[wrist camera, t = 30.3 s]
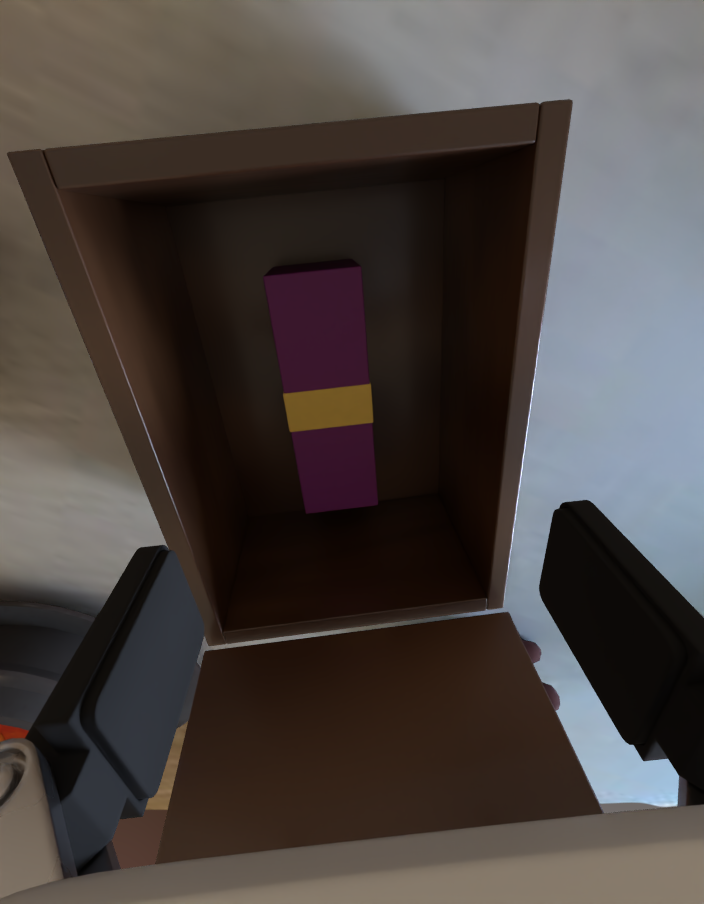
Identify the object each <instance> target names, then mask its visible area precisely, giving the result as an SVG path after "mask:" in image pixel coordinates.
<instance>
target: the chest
mask: <svg viewBox="0 0 704 904" xmlns="http://www.w3.org/2000/svg"><path fill="white" fill-rule="evenodd" d="M572 104H573V102H572V100H570V99H568V100H557V101H547V102H542V103H540V104H539V103H525V104H515V105H504V106H494V107H483V108H472V109H462V110H451V111H440V112H430V113H419V114H409V115H398V116H387V117H377V118H366V119H356V120H345V121H334V122H324V123H313V124H303V125H292V126H281V127H271V128H260V129H249V130H239V131H228V132H218V133H207V134H196V135H186V136H175V137H165V138H154V139H143V140H133V141H122V142H111V143H101V144H90V145H80V146H69V147H58V148H48V149H45V150H41V149H34V150H24V151H13V152H8V153H7V155H8V158H9V160H10V163H11V165H12V167H13V170H14V172H15V175H16V177H17V180H18V182H19V184H20V187H21V189H22V192H23V194H24V197H25V199H26V202H27V204H28V206H29V209H30V211H31V214H32V216H33V219H34V221H35V223H36V226H37V228H38V231H39V233H40V236H41V238H42V241H43V243H44V245H45V248H46V250H47V253H48V255H49V258H50V260H51V262H52V265H53V267H54V270H55V272H56V275H57V277H58V280H59V282H60V284H61V287H62V289H63V292H64V294H65V297H66V299H67V302H68V304H69V306H70V309H71V311H72V314H73V316H74V319H75V321H76V323H77V326H78V328H79V331H80V333H81V336H82V338H83V341H84V343H85V345H86V348H87V350H88V353H89V355H90V358H91V360H92V362H93V365H94V367H95V370H96V372H97V375H98V377H99V380H100V382H101V384H102V387H103V389H104V392H105V394H106V397H107V399H108V401H109V404H110V406H111V409H112V411H113V414H114V416H115V419H116V421H117V423H118V426H119V428H120V431H121V433H122V436H123V438H124V441H125V443H126V445H127V448H128V450H129V453H130V455H131V458H132V460H133V462H134V465H135V467H136V470H137V472H138V475H139V477H140V480H141V482H142V484H143V487H144V489H145V492H146V494H147V497H148V499H149V501H150V504H151V506H152V509H153V511H154V514H155V516H156V519H157V521H158V523H159V526H160V528H161V531H162V533H163V536H164V538H165V541H166V543H167V545H168V548H169V550H173V551H175V553H176V555H177V557H178V560H179V562H180V565H181V567H182V570H183V572H184V575H185V577H186V580H187V582H188V585H189V587H190V590H191V592H192V595H193V597H194V600H195V602H196V604H197V607H198V609H199V612H200V614H201V617H202V619H203V622H204V636H205V638H206V640H207V643H208V645H209V646H214V645H222V644H226V643H227V644H230V643H238V642H245V641H253V640H261V639H269V638H276V637H284V636H292V635H299V634H307V633H315V632H323V631H330V630H338V629H346V628H353V627H361V626H369V625H376V624H384V623H392V622H400V621H407V620H415V619H423V618H430V617H438V616H446V615H454V614H461V613H469V612H477V611H484V610H486V609H487V610H489V609H497V608H503V606H504V599H505V591H506V584H507V577H508V570H509V562H510V555H511V548H512V540H513V533H514V526H515V519H516V511H517V504H518V497H519V490H520V482H521V475H522V468H523V460H524V453H525V446H526V439H527V431H528V424H529V417H530V410H531V402H532V395H533V388H534V380H535V373H536V366H537V359H538V351H539V344H540V337H541V330H542V322H543V315H544V308H545V300H546V293H547V286H548V279H549V271H550V264H551V257H552V250H553V242H554V235H555V228H556V220H557V213H558V206H559V199H560V191H561V184H562V177H563V170H564V162H565V155H566V148H567V140H568V133H569V126H570V119H571V111H572ZM343 259H353V260H354V261H355V262H357V263H358V264H359V265H360V266H361V267H362V280H363V294H364V308H365V322H366V336H367V351H368V365H369V379H370V383H371V391H372V405H373V420H374V422H373V436H374V450H375V465H376V479H377V493H378V505H374V506H366V507H358V508H350V509H341V510H333V511H325V512H317V513H308V514H306V513H305V507H304V502H303V496H302V491H301V485H300V480H299V474H298V469H297V463H296V458H295V452H294V447H293V441H292V436H291V432H290V431H289V426H288V420H287V415H286V409H285V404H284V398H283V392H284V391H283V386H282V380H281V375H280V369H279V364H278V358H277V353H276V347H275V342H274V336H273V331H272V325H271V320H270V314H269V309H268V303H267V298H266V292H265V287H264V281H263V276H264V275H265V274H266V273H267V272H268V271H269V270H270V269H272V268H273V267H276V266H285V265H295V264H305V263H314V262H324V261H334V260H343Z"/></svg>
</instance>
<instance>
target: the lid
mask: <svg viewBox="0 0 704 904" xmlns="http://www.w3.org/2000/svg"><path fill="white" fill-rule="evenodd" d="M595 814H604V812H603V810H602V808H601V806H600V804H599V801H598V799H597V797H596V795H595V793H594V791H593V789H592V787H591V785H590V782H589V780H588V778H587V776H586V774H585V772H584V770H583V768H582V766H581V764H580V761H579V759H578V757H577V755H576V753H575V751H574V749H573V747H572V745H571V743H570V740H569V738H568V736H567V734H566V732H565V730H564V728H563V726H562V724H561V721H560V719H559V717H558V715H557V713H556V711H555V709H554V707H553V705H552V703H551V700H550V698H549V696H548V694H547V692H546V690H545V688H544V686H543V684H542V682H541V679H540V677H539V675H538V673H537V671H536V669H535V667H534V665H533V663H532V660H531V658H530V656H529V654H528V652H527V650H526V648H525V646H524V644H523V642H522V639H521V637H520V635H519V633H518V631H517V629H516V627H515V625H514V623H513V621H512V618H511V616H510V614H509V613H508V612H503V613H495V614H488V615H480V616H472V617H465V618H457V619H449V620H442V621H434V622H426V623H418V624H411V625H403V626H395V627H388V628H380V629H372V630H365V631H357V632H349V633H342V634H334V635H326V636H319V637H311V638H303V639H295V640H288V641H280V642H272V643H265V644H257V645H249V646H242V647H234V648H226V649H219V650H211V651H205V652H204V656H203V660H202V665H201V669H200V673H199V678H198V682H197V686H196V691H195V695H194V699H193V704H192V708H191V712H190V716H189V721H188V725H187V729H186V734H185V738H184V742H183V747H182V751H181V755H180V760H179V764H178V768H177V772H176V777H175V781H174V785H173V790H172V794H171V798H170V803H169V807H168V812H167V816H166V820H165V825H164V829H163V833H162V837H161V841H160V846H159V850H158V855H157V859H156V863H155V864H163V863H170V862H177V861H184V860H192V859H201V858H210V857H218V856H227V855H235V854H244V853H252V852H261V851H269V850H278V849H287V848H295V847H304V846H312V845H321V844H329V843H338V842H347V841H356V840H365V839H374V838H383V837H392V836H401V835H410V834H419V833H428V832H437V831H446V830H455V829H464V828H473V827H482V826H491V825H500V824H510V823H519V822H529V821H538V820H548V819H557V818H566V817H576V816H585V815H595Z"/></svg>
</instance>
